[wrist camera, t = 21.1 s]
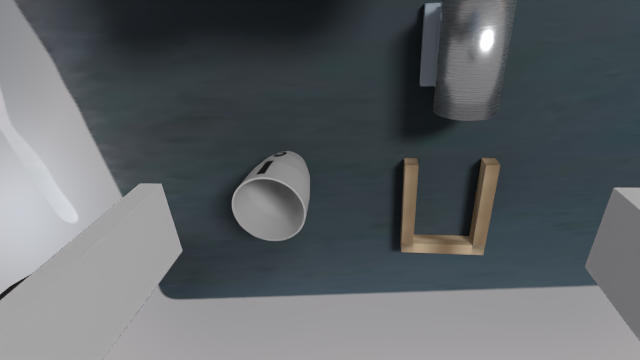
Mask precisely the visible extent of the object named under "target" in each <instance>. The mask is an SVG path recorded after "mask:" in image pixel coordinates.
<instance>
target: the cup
mask: <svg viewBox="0 0 640 360" xmlns="http://www.w3.org/2000/svg"><path fill="white" fill-rule="evenodd" d="M309 198H310V176H309V172H308V169H307V166H306V163H305V161H304V160H303V158H302V157H301V156H299V155H298V154H296V153H294V152H290V151H283V152H279V153H277V154H274V155H272V156H270V157H268V158H266V159H265V160H264V161H263V162H262V163H260V164H259V165H258V166H257V167H255V168H254V169H253V170H252V171H251V172H250V174H249V175H248V176H247V177H246V178H245V180H244V181H243V182H242V183H241V184H240V186H239V187H238V188H237V189H236V191H235V193H234V195H233V198H232V210H233V214H234V216H235V218H236V220H237V221H238V223H239V224H240V225H241V227H242V228H244V229H245V230H246V231H247V232H248V233H250V234H252V235H253V236H255V237H258V238H260V239H264V240H269V241H281V240H285V239H288V238H291V237H293V236H294V235H296V234H297V233H298V232H299V231H300V230H301V228H302V227H303V225H304V223H305V219H306V214H307V209H308V203H309Z"/></svg>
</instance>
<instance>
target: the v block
mask: <svg viewBox="0 0 640 360" xmlns="http://www.w3.org/2000/svg"><path fill="white" fill-rule="evenodd" d="M441 9H442V3H427V4H424V18H423V34H422V50H421V66H420V82H419V85H420V86H434V87H435V81H436V69H437V57H438V45H439V33H440V21H441Z"/></svg>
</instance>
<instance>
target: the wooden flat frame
mask: <svg viewBox="0 0 640 360" xmlns="http://www.w3.org/2000/svg"><path fill="white" fill-rule="evenodd" d="M499 169H500V164H499V163H498V162H497V160H496V159H495V158H482V159H481V165H480V172H479V178H478V184H477V191H476V197H475V203H474V209H473V216H472V222H471V228H470V234H469V236H451V235H417V234H414V223H415V208H416V194H417V179H418V161H417V158H404V173H403V194H402V215H401V236H400V246H401V252H415V253H442V254H470V255H483V254H484V249H485V243H486V238H487V233H488V227H489V222H490V217H491V211H492V206H493V201H494V196H495V190H496V185H497V180H498V174H499Z"/></svg>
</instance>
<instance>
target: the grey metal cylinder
mask: <svg viewBox="0 0 640 360" xmlns="http://www.w3.org/2000/svg"><path fill="white" fill-rule="evenodd" d="M516 3H517V0H442V9H441V21H440V33H439V45H438V57H437V69H436V81H435V93H434V105H433V112H434V113H435V114H436V115H438V116H441V117H444V118H448V119H453V120H462V121H477V120H485V119H489V118H492V117H495V116H496V115H497V114H498V109H499V103H500V97H501V91H502V85H503V79H504V74H505V68H506V62H507V56H508V50H509V44H510V39H511V33H512V27H513V21H514V15H515V9H516Z"/></svg>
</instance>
